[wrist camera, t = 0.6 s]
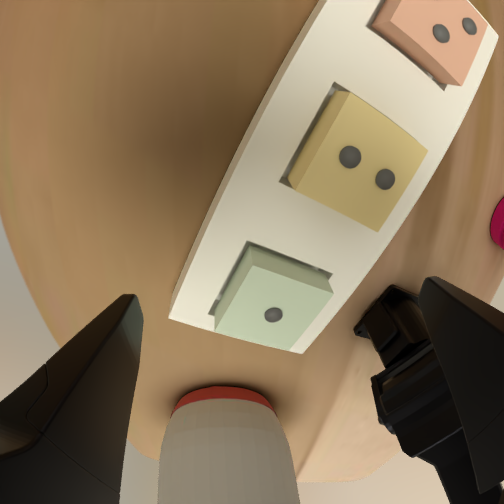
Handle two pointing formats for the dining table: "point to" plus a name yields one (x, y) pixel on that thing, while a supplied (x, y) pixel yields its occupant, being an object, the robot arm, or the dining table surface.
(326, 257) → the rail
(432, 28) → the three-pip tile
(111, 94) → the dining table surface
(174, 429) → the citrus juicer
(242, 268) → the tile
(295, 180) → the tile
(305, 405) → the dining table surface
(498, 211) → the pepper mill
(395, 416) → the robot arm
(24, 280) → the dining table surface
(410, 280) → the dining table surface
